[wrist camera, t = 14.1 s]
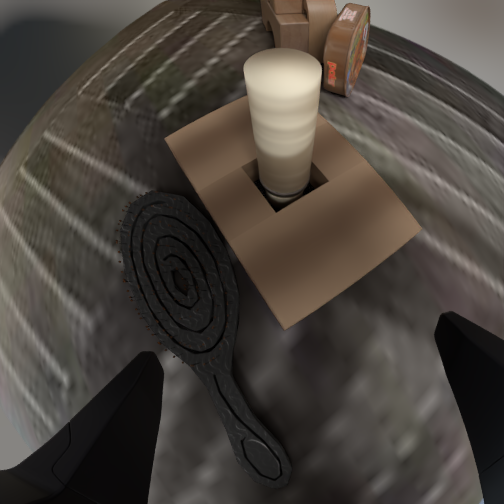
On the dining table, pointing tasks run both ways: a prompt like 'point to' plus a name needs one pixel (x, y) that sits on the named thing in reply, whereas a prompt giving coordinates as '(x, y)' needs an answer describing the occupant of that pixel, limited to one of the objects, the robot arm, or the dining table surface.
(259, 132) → the cream ridged cylinder
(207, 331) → the hairbrush
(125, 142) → the dining table surface
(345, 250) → the brown box
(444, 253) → the dining table surface
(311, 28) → the wooden toy
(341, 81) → the tin
